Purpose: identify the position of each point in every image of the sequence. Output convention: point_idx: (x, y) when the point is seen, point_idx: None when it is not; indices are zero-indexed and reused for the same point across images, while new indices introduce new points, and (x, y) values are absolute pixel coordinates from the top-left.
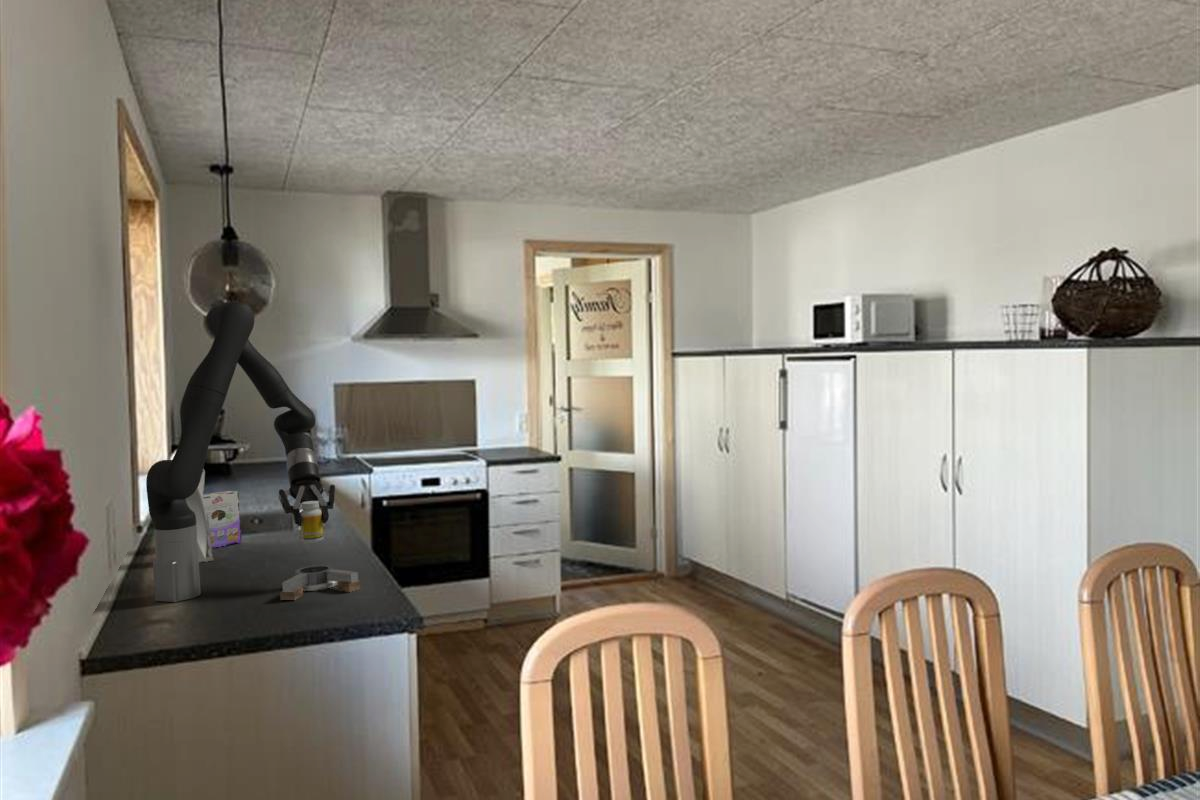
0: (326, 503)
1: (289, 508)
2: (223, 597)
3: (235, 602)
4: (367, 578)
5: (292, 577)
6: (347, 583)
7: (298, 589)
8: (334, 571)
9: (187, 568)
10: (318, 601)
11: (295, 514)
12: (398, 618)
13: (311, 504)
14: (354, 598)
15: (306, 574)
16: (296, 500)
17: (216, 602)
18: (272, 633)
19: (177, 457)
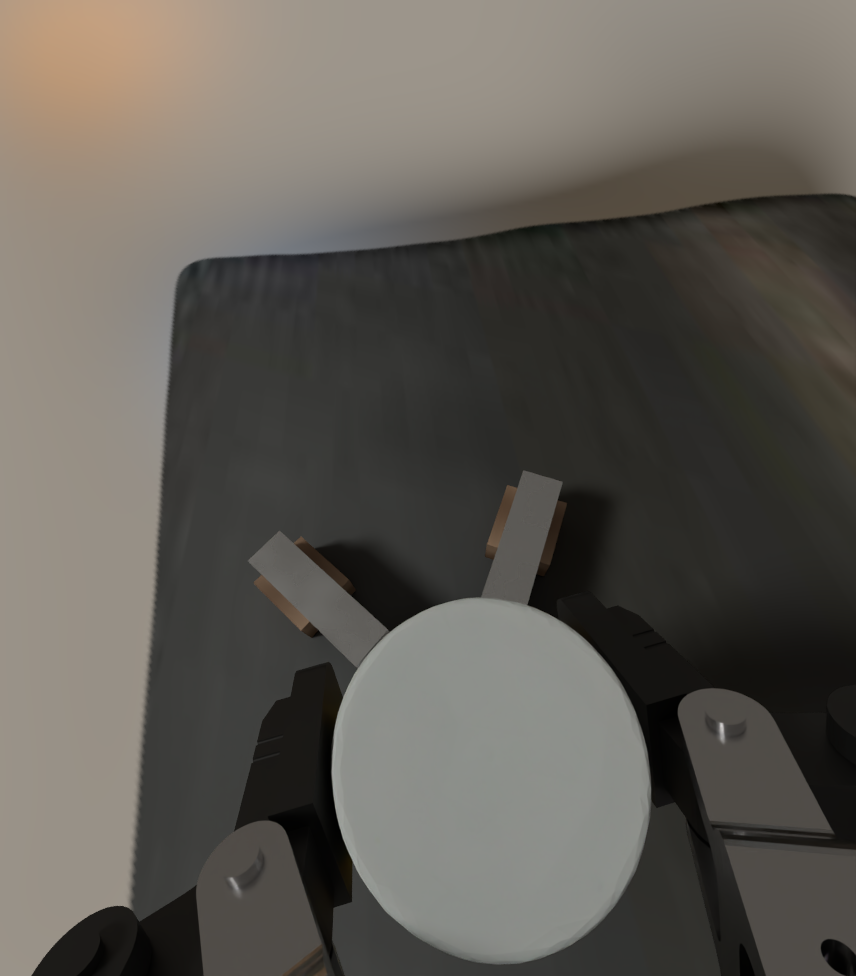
0: (204, 891)
1: (826, 726)
2: (848, 651)
3: (742, 549)
4: (213, 793)
5: (539, 558)
6: (307, 545)
7: (498, 516)
8: (350, 610)
9: None
10: (418, 470)
11: (666, 660)
12: (210, 276)
13: (447, 605)
14: (298, 470)
15: (482, 594)
16: (818, 840)
17: (831, 574)
18: (498, 247)
19: None
